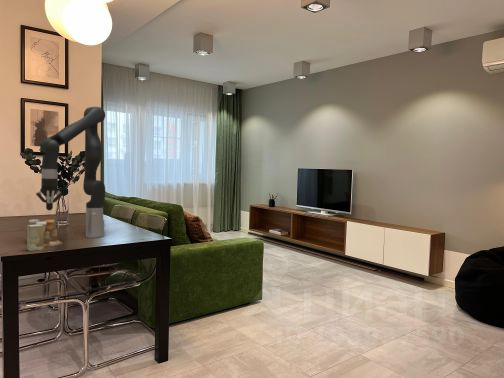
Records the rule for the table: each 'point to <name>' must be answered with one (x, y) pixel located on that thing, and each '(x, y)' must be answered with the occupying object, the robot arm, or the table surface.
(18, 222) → the table surface
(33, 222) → the white plug
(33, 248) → the skincare box
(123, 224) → the table surface
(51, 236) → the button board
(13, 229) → the table surface
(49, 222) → the rust plug
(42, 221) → the white plug
